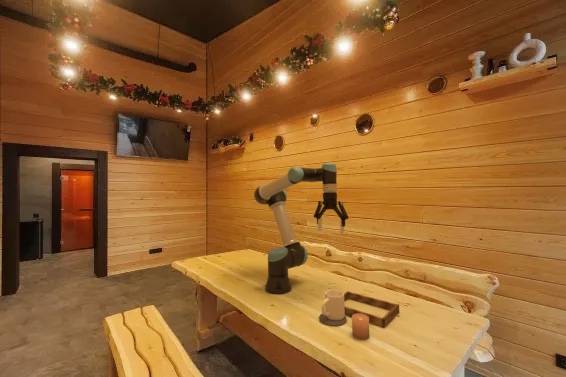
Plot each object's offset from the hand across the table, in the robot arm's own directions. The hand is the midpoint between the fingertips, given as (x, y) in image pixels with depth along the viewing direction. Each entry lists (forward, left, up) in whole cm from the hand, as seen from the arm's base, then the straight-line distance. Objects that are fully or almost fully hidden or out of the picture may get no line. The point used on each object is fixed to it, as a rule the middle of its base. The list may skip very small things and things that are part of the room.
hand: (330, 231), depth 140 cm
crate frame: (+20, -5, -35) cm, 40 cm away
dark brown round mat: (+13, -21, -35) cm, 43 cm away
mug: (+13, -21, -34) cm, 42 cm away
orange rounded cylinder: (+28, -25, -35) cm, 51 cm away
